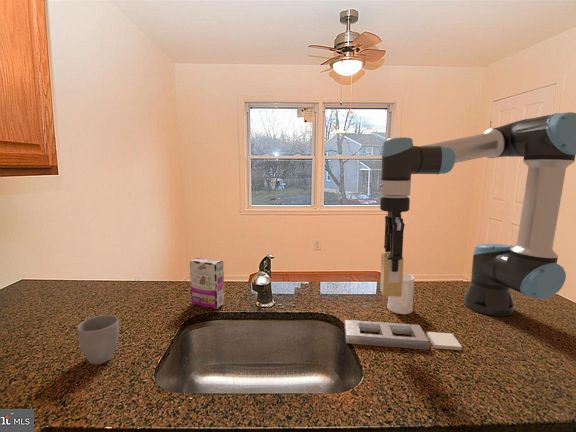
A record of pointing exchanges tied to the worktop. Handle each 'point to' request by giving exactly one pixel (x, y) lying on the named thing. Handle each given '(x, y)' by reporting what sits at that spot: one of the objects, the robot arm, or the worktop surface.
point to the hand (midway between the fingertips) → (391, 278)
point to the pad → (444, 341)
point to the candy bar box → (207, 283)
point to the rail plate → (385, 334)
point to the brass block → (386, 286)
